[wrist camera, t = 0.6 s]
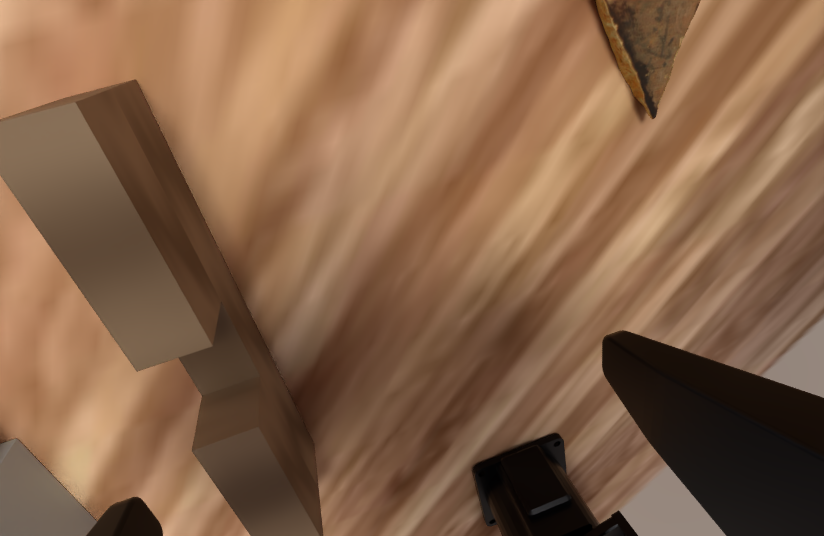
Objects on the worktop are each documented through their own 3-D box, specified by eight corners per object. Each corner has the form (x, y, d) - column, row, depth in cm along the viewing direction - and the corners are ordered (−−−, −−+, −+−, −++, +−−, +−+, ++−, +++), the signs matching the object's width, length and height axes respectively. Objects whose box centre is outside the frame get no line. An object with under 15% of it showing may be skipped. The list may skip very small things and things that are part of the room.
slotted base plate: (314, 444, 27) (324, 543, 22) (271, 460, 26) (271, 564, 21) (135, 79, 17) (75, 102, 12) (63, 98, 16) (-32, 130, 11)
